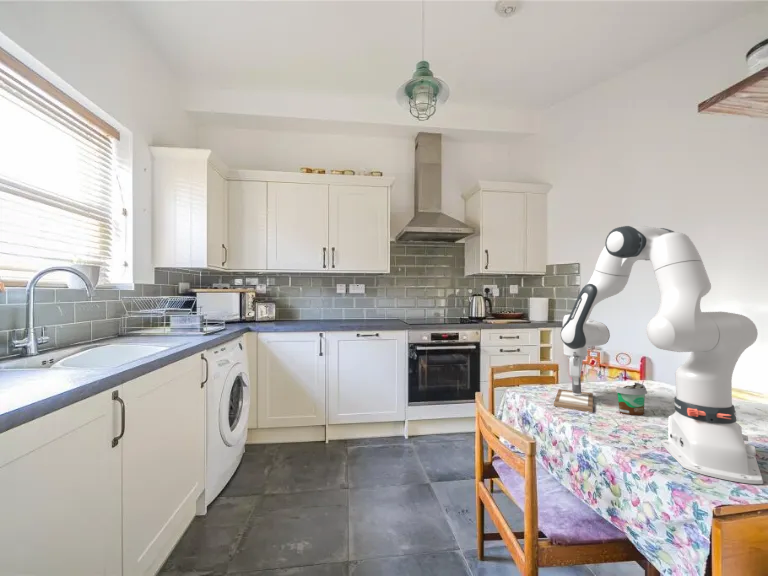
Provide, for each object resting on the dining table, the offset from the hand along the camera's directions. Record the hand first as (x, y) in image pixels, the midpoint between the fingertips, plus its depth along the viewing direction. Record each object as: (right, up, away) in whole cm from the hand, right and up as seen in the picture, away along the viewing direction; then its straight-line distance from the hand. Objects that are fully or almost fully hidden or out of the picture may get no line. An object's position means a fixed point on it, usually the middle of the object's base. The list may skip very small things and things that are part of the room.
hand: (576, 383), depth 136 cm
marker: (0, -5, 0) cm, 5 cm away
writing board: (-3, -7, -3) cm, 8 cm away
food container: (+11, -6, -18) cm, 22 cm away
